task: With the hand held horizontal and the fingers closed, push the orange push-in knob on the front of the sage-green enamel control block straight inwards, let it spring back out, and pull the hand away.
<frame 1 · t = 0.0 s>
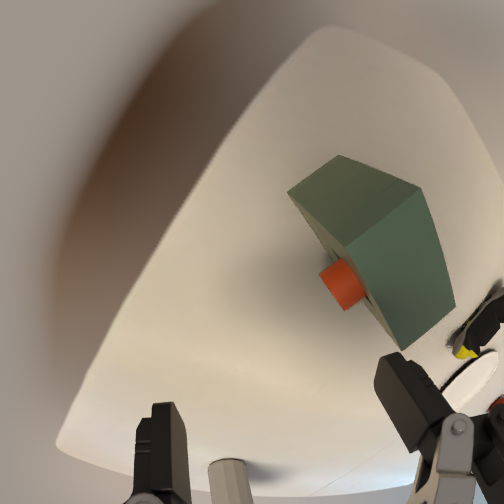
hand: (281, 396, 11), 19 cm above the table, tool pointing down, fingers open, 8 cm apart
water bottle: (224, 466, 48), on the table
toy running shoe: (475, 316, 42), on the table
push knob: (347, 281, 23), point 8 cm above the table, slide at 0.0 cm
fruit: (494, 402, 69), on the table
plate: (463, 382, 53), on the table
control block: (343, 221, 30), on the table
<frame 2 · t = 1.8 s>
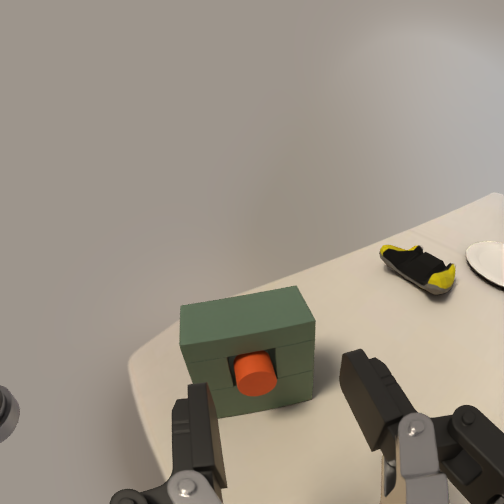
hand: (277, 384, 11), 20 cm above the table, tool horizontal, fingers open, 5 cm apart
toy running shoe: (418, 282, 50), on the table
push knob: (254, 372, 27), point 8 cm above the table, slide at 0.0 cm
control block: (255, 391, 34), on the table
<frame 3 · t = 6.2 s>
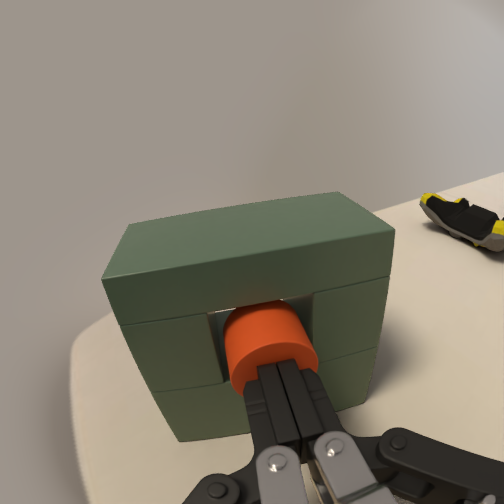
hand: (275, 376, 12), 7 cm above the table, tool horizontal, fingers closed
toy running shoe: (469, 240, 35), on the table
push knob: (267, 350, 13), point 7 cm above the table, slide at 0.0 cm, touching gripper
control block: (264, 392, 19), on the table
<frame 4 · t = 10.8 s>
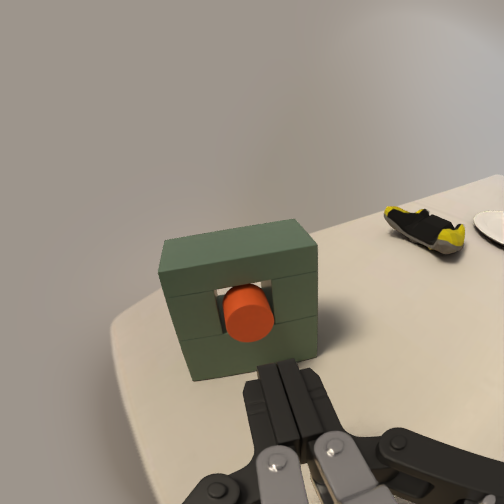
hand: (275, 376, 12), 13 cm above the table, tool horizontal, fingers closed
toy running shoe: (426, 245, 46), on the table
push knob: (247, 312, 24), point 7 cm above the table, slide at -0.1 cm
control block: (250, 350, 30), on the table
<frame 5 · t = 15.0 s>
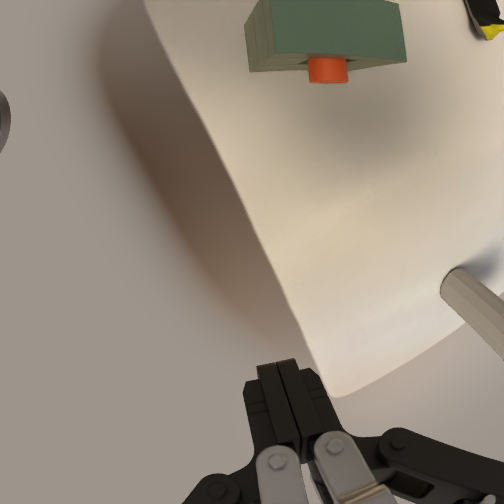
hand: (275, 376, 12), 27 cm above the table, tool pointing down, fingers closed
water bottle: (451, 285, 50), on the table
toy running shoe: (468, 1, 27), on the table
push knob: (327, 67, 24), point 8 cm above the table, slide at -0.1 cm
control block: (298, 46, 29), on the table
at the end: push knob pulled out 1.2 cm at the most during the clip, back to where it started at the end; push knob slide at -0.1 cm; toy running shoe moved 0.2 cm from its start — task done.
